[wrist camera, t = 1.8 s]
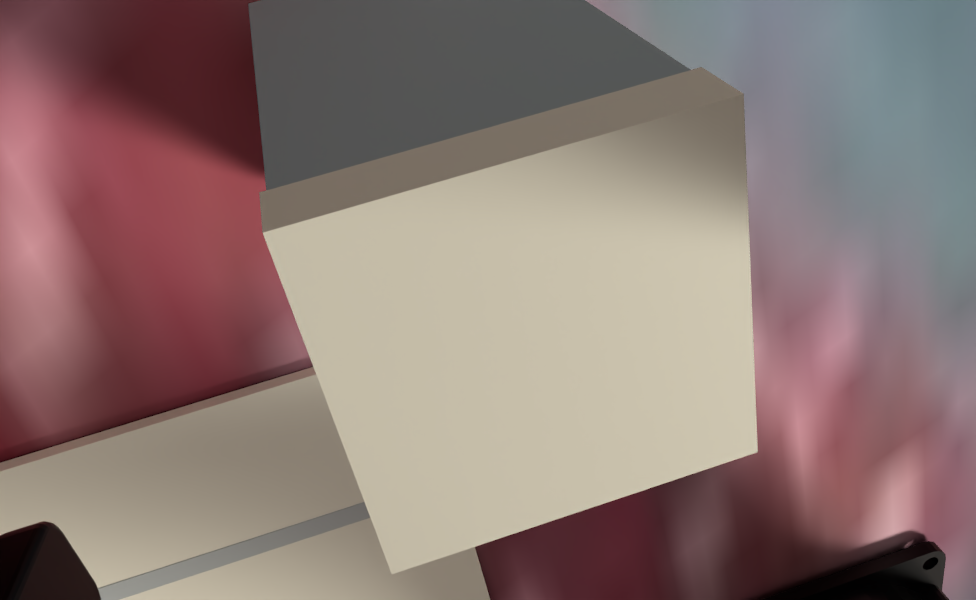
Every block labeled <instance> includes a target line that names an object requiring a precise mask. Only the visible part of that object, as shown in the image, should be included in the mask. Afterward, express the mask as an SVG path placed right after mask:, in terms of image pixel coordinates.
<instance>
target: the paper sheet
mask: <svg viewBox="0 0 976 600" xmlns="http://www.w3.org/2000/svg"><path fill="white" fill-rule="evenodd" d="M42 521H46V522H51V523H54V524H55V525H56V526H58V527H59V528H60V530H61V531H62V532H63V533H64V535H65V537H66V538H67V540H68V541H69V543H70V544H71V546H72V547H73V549H74V550H75V552H76V553H77V555H78V557H79V558H80V560H81V561H82V563H83V564H84V566H85V567H86V569H87V570H88V572H89V573H90V575H91V577H92V578H93V580H94V581H95V583H96V585H97V588H98V590H99V593H100V596H101V600H490V597H489V593H488V590H487V587H486V583H485V580H484V577H483V573H482V570H481V566H480V563H479V560H478V556H477V553H476V549H475V547H473V548H470V549H467V550H464V551H461V552H458V553H455V554H452V555H449V556H446V557H443V558H440V559H437V560H434V561H431V562H428V563H425V564H422V565H419V566H416V567H413V568H410V569H407V570H404V571H401V572H398V573H395V574H391V571H390V568H389V566H388V563H387V560H386V558H385V555H384V552H383V550H382V547H381V545H380V542H379V539H378V537H377V534H376V531H375V529H374V526H373V523H372V521H371V518H370V515H369V513H368V510H367V507H366V505H365V502H364V500H363V497H362V494H361V492H360V489H359V486H358V484H357V481H356V478H355V476H354V473H353V470H352V468H351V465H350V462H349V460H348V457H347V455H346V452H345V449H344V447H343V444H342V441H341V439H340V436H339V433H338V431H337V428H336V425H335V423H334V420H333V417H332V415H331V412H330V410H329V407H328V404H327V402H326V399H325V396H324V394H323V391H322V388H321V386H320V383H319V380H318V378H317V375H316V372H315V370H314V367H311V368H307V369H304V370H301V371H298V372H294V373H291V374H288V375H285V376H281V377H278V378H275V379H272V380H268V381H265V382H262V383H259V384H255V385H252V386H249V387H246V388H242V389H239V390H236V391H232V392H229V393H226V394H223V395H219V396H216V397H213V398H210V399H206V400H203V401H200V402H197V403H193V404H190V405H187V406H184V407H180V408H177V409H174V410H171V411H167V412H164V413H161V414H157V415H154V416H151V417H148V418H144V419H141V420H138V421H135V422H131V423H128V424H125V425H122V426H118V427H115V428H112V429H109V430H105V431H102V432H99V433H96V434H92V435H89V436H86V437H82V438H79V439H76V440H73V441H69V442H66V443H63V444H60V445H56V446H53V447H50V448H47V449H43V450H40V451H37V452H34V453H30V454H27V455H24V456H21V457H17V458H14V459H11V460H7V461H4V462H1V463H0V535H2V534H4V533H7V532H10V531H13V530H16V529H19V528H23V527H26V526H29V525H32V524H35V523H39V522H42Z"/></svg>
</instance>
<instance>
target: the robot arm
mask: <svg viewBox="0 0 976 600" xmlns="http://www.w3.org/2000/svg"><path fill="white" fill-rule="evenodd" d="M945 560H946V557H945V554H944V552H943V551H942V550H941V549H940V548H939V547H938V546H937V545H936V544H935V543H934V542H930V541H928V542H923V543H920V544H917V545H915V546H912V547H909V548H906V549H903V550H900V551H898V552H895V553H892V554H889V555H886V556H883V557H881V558H878V559H875V560H872V561H869V562H866V563H864V564H861V565H858V566H855V567H852V568H850V569H847V570H844V571H841V572H838V573H835V574H833V575H830V576H827V577H824V578H821V579H818V580H816V581H813V582H810V583H807V584H804V585H801V586H799V587H796V588H793V589H790V590H787V591H784V592H782V593H779V594H776V595H773V596H770V597H767V598H765V599H762V600H949V599H948V598H947V597H946V596H945V594H944V593H943V592H942V584H943V576H944V568H945ZM0 600H101V596H100V593H99V590H98V588H97V585H96V583H95V581H94V580H93V578H92V577H91V575H90V573H89V572H88V570H87V569H86V567H85V566H84V564H83V563H82V561H81V560H80V558H79V557H78V555H77V553H76V552H75V550H74V549H73V547H72V546H71V544H70V543H69V541H68V540H67V538H66V537H65V535H64V533H63V532H62V531H61V530H60V528H59V527H58V526H56V525H55V524H54V523H51V522H46V521H42V522H39V523H35V524H32V525H29V526H26V527H23V528H19V529H16V530H13V531H10V532H7V533H4V534H2V535H0Z"/></svg>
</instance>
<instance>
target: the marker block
mask: <svg viewBox="0 0 976 600" xmlns="http://www.w3.org/2000/svg"><path fill="white" fill-rule="evenodd" d="M248 7H249V18H250V28H251V38H252V48H253V58H254V69H255V79H256V89H257V99H258V109H259V120H260V130H261V140H262V150H263V160H264V171H265V181H266V191H263V192H259V193H260V206H261V218H262V230H263V235H264V237H265V240H266V243H267V245H268V248H269V251H270V253H271V256H272V259H273V261H274V264H275V267H276V269H277V272H278V275H279V277H280V280H281V282H282V285H283V288H284V290H285V293H286V296H287V298H288V301H289V304H290V306H291V309H292V312H293V314H294V317H295V320H296V322H297V325H298V327H299V330H300V333H301V335H302V338H303V341H304V343H305V346H306V349H307V351H308V354H309V357H310V359H311V362H312V365H313V367H314V370H315V372H316V375H317V378H318V380H319V383H320V386H321V388H322V391H323V394H324V396H325V399H326V402H327V404H328V407H329V410H330V412H331V415H332V417H333V420H334V423H335V425H336V428H337V431H338V433H339V436H340V439H341V441H342V444H343V447H344V449H345V452H346V455H347V457H348V460H349V462H350V465H351V468H352V470H353V473H354V476H355V478H356V481H357V484H358V486H359V489H360V492H361V494H362V497H363V500H364V502H365V505H366V507H367V510H368V513H369V515H370V518H371V521H372V523H373V526H374V529H375V531H376V534H377V537H378V539H379V542H380V545H381V547H382V550H383V552H384V555H385V558H386V560H387V563H388V566H389V568H390V571H391V574H395V573H398V572H401V571H404V570H407V569H410V568H413V567H416V566H419V565H422V564H425V563H428V562H431V561H434V560H437V559H440V558H443V557H446V556H449V555H452V554H455V553H458V552H461V551H464V550H467V549H470V548H473V547H476V546H479V545H482V544H485V543H488V542H491V541H494V540H497V539H500V538H503V537H506V536H509V535H512V534H515V533H518V532H520V531H523V530H526V529H529V528H532V527H535V526H538V525H541V524H544V523H547V522H550V521H553V520H556V519H559V518H562V517H565V516H568V515H571V514H574V513H577V512H580V511H583V510H586V509H589V508H592V507H595V506H598V505H601V504H604V503H607V502H610V501H613V500H616V499H619V498H622V497H625V496H628V495H631V494H634V493H637V492H640V491H643V490H646V489H649V488H652V487H655V486H658V485H661V484H664V483H667V482H670V481H673V480H676V479H679V478H682V477H685V476H688V475H691V474H694V473H697V472H700V471H703V470H706V469H709V468H712V467H715V466H718V465H721V464H724V463H727V462H730V461H733V460H736V459H739V458H742V457H745V456H748V455H751V454H754V453H757V452H758V448H757V423H756V397H755V372H754V347H753V321H752V296H751V271H750V245H749V220H748V195H747V169H746V144H745V119H744V94H743V93H741V92H740V91H738V90H737V89H735V88H733V87H732V86H730V85H729V84H727V83H726V82H724V81H722V80H721V79H719V78H718V77H716V76H715V75H713V74H711V73H710V72H708V71H707V70H705V69H704V68H702V67H700V68H696V69H693V70H690V69H689V68H687V67H685V66H684V65H682V64H681V63H679V62H678V61H676V60H675V59H673V58H672V57H670V56H669V55H667V54H666V53H664V52H663V51H661V50H660V49H658V48H657V47H655V46H654V45H652V44H650V43H649V42H647V41H646V40H644V39H643V38H641V37H640V36H638V35H637V34H635V33H634V32H632V31H631V30H629V29H628V28H626V27H625V26H623V25H622V24H620V23H619V22H617V21H615V20H614V19H612V18H611V17H609V16H608V15H606V14H605V13H603V12H602V11H600V10H599V9H597V8H596V7H594V6H593V5H591V4H590V3H588V2H587V1H585V0H260V1H256V2H252V3H249V4H248Z"/></svg>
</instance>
